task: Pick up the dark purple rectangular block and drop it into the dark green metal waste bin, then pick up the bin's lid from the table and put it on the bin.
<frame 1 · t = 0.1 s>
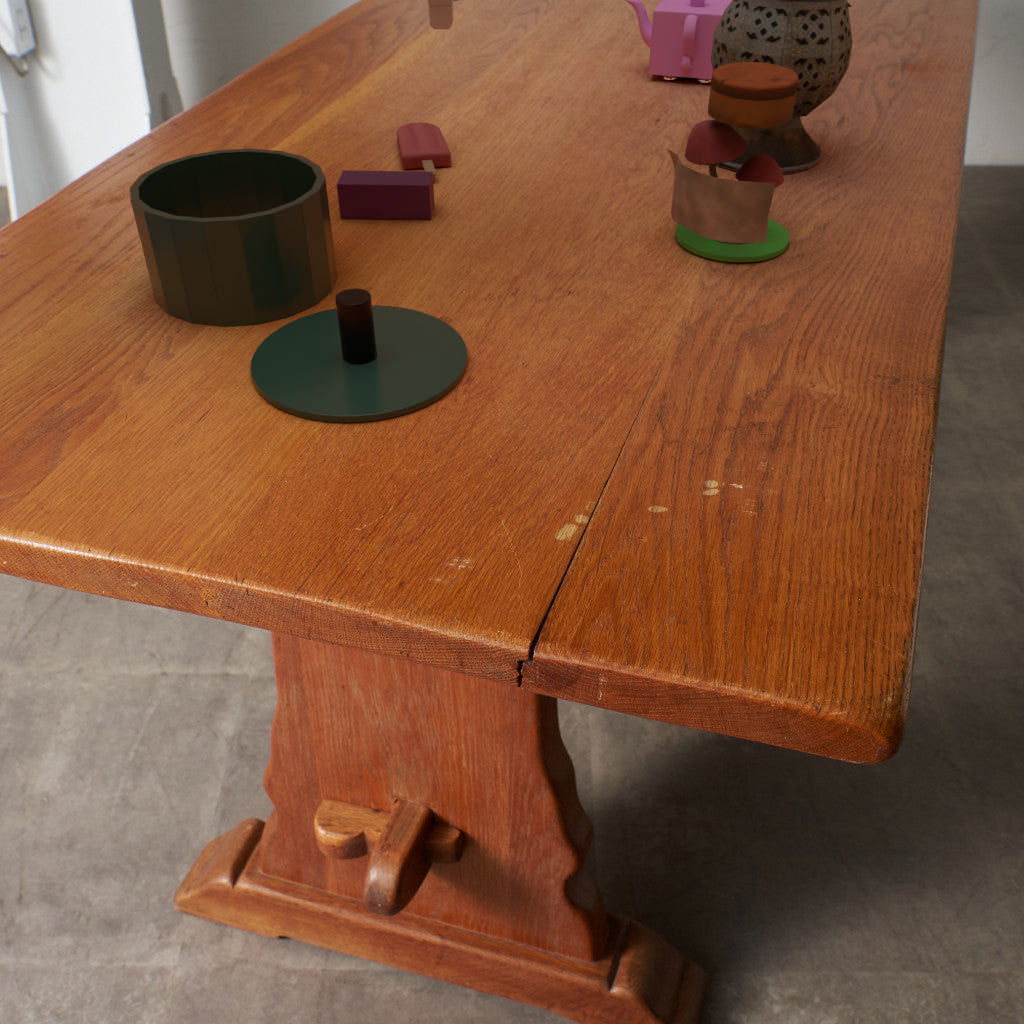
hand: (447, 12, 85), 19 cm above the table, tool pointing down, fingers open, 8 cm apart
bin: (247, 288, 88), on the table
popsicle: (424, 159, 112), on the table
lid: (360, 362, 77), point 1 cm above the table
dark purple rectangular block: (388, 212, 101), on the table
mushroom toy stack: (725, 240, 96), on the table
teapot: (684, 74, 137), on the table
lantern: (762, 154, 114), on the table
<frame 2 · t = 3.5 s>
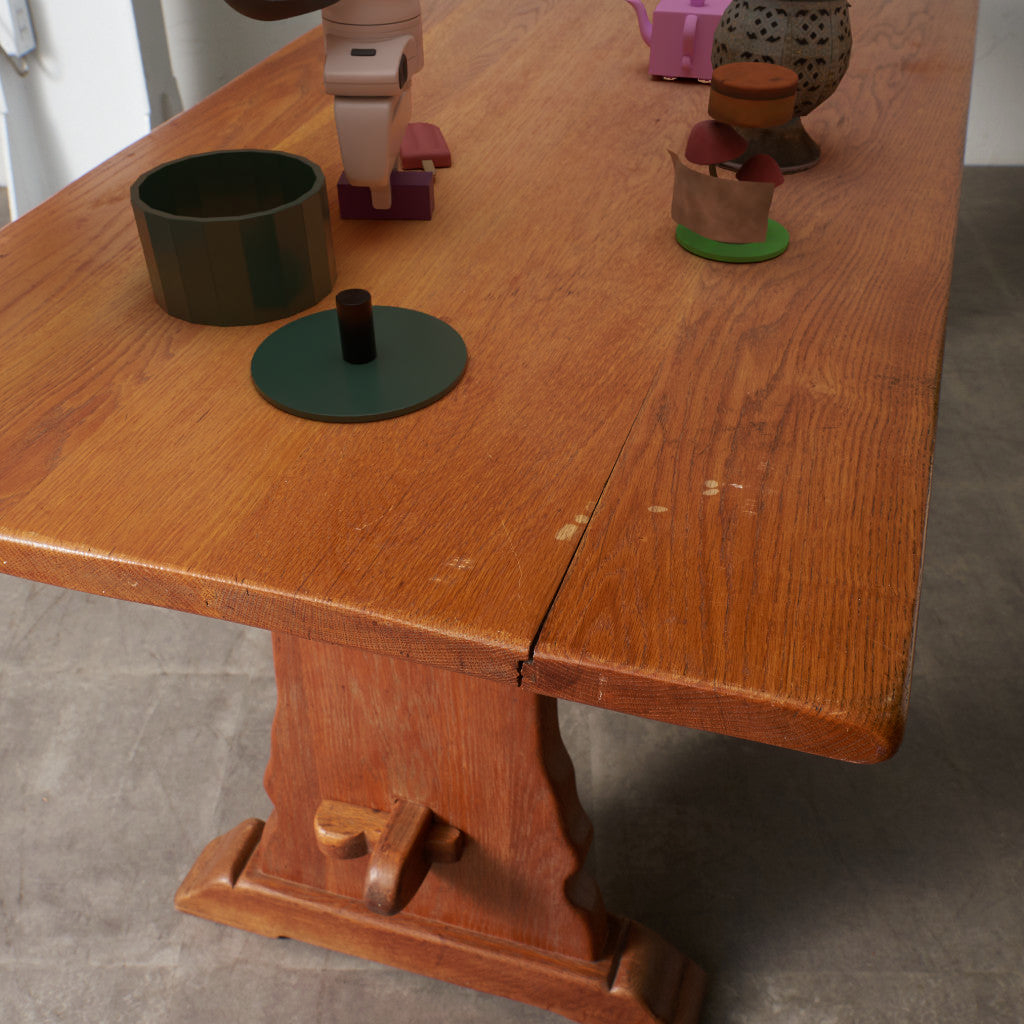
hand: (386, 196, 100), 2 cm above the table, tool pointing down, fingers closed on dark purple rectangular block, 3 cm apart
dark purple rectangular block: (388, 212, 101), on the table, touching gripper
everything else where it was.
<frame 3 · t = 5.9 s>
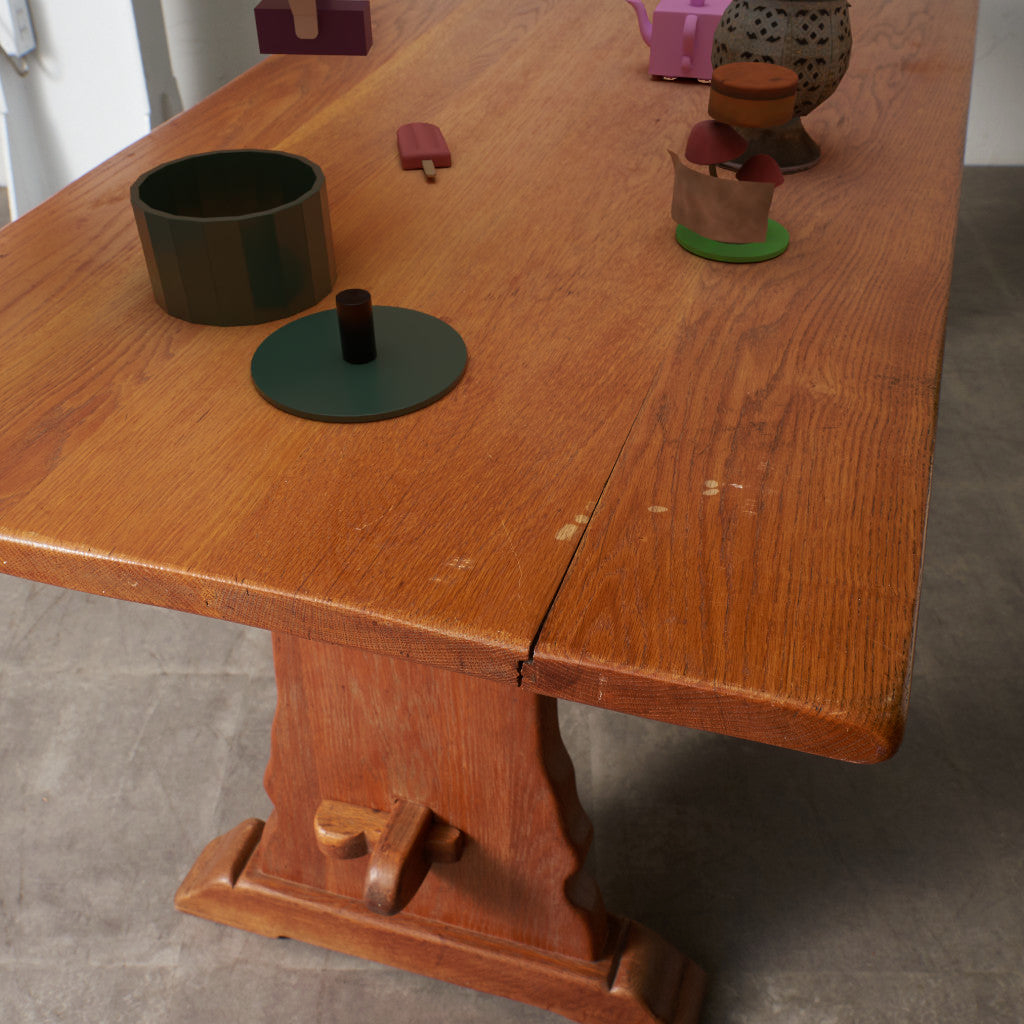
hand: (314, 29, 85), 18 cm above the table, tool pointing down, fingers closed on dark purple rectangular block, 3 cm apart
dark purple rectangular block: (317, 49, 86), point 17 cm above the table, touching gripper
everything else where it was.
when the fingers open (15 cm above the table, at t = 8.6 s): dark purple rectangular block drops 13 cm, resting on bin.
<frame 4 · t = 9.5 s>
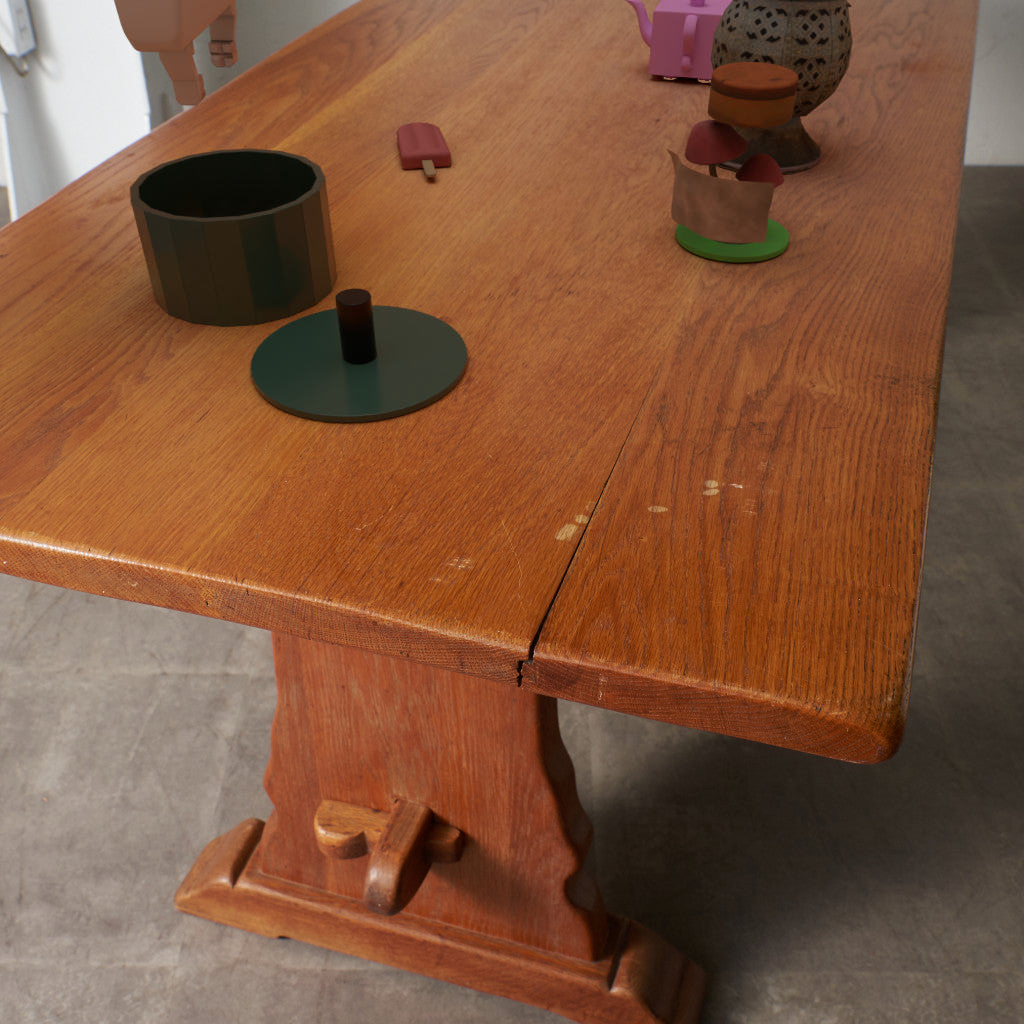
hand: (209, 83, 77), 17 cm above the table, tool pointing down, fingers open, 8 cm apart
dark purple rectangular block: (246, 285, 87), resting on bin
everything else where it was.
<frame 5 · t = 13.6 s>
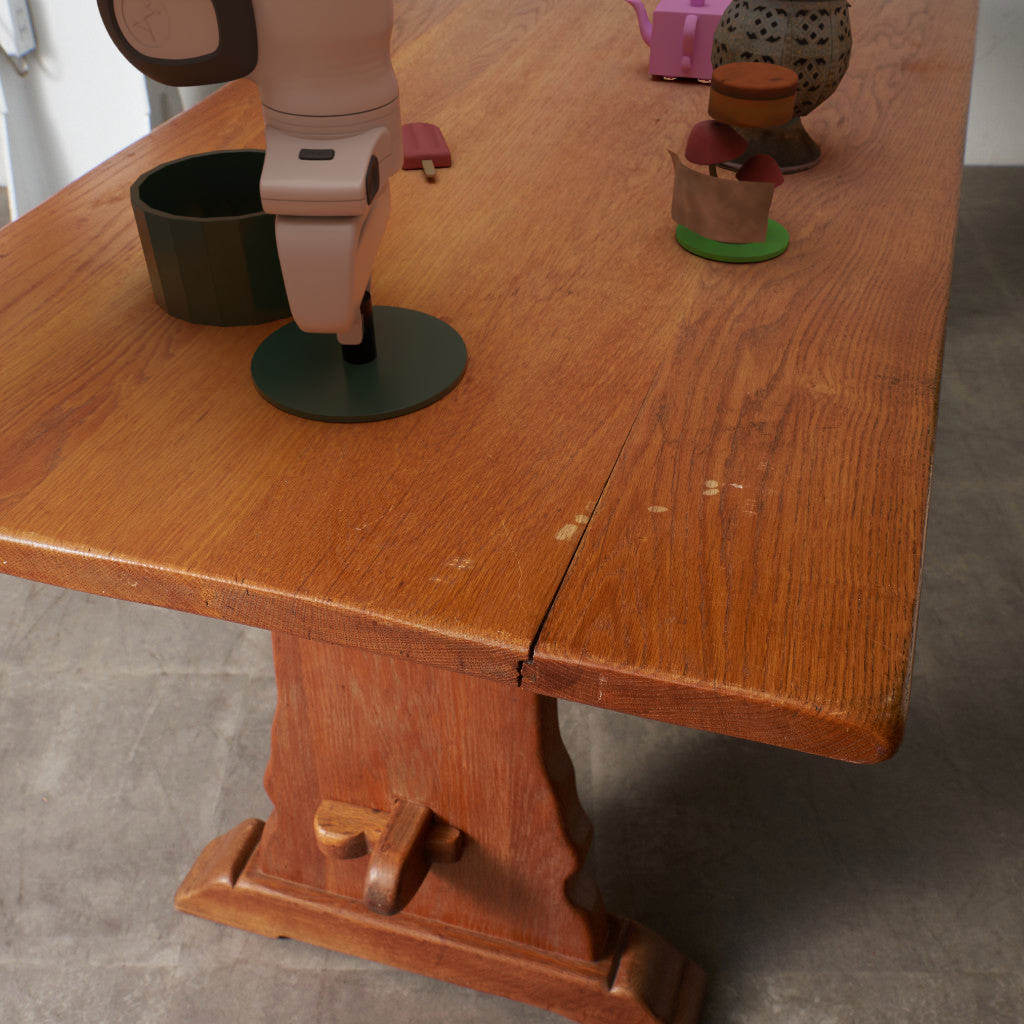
hand: (356, 326, 75), 4 cm above the table, tool pointing down, fingers closed on lid, 2 cm apart
lid: (360, 362, 77), point 1 cm above the table, touching gripper
everything else where it was.
when the fingers open (12 cm above the table, at t = 20.0 s): lid stays where it is, resting on bin.
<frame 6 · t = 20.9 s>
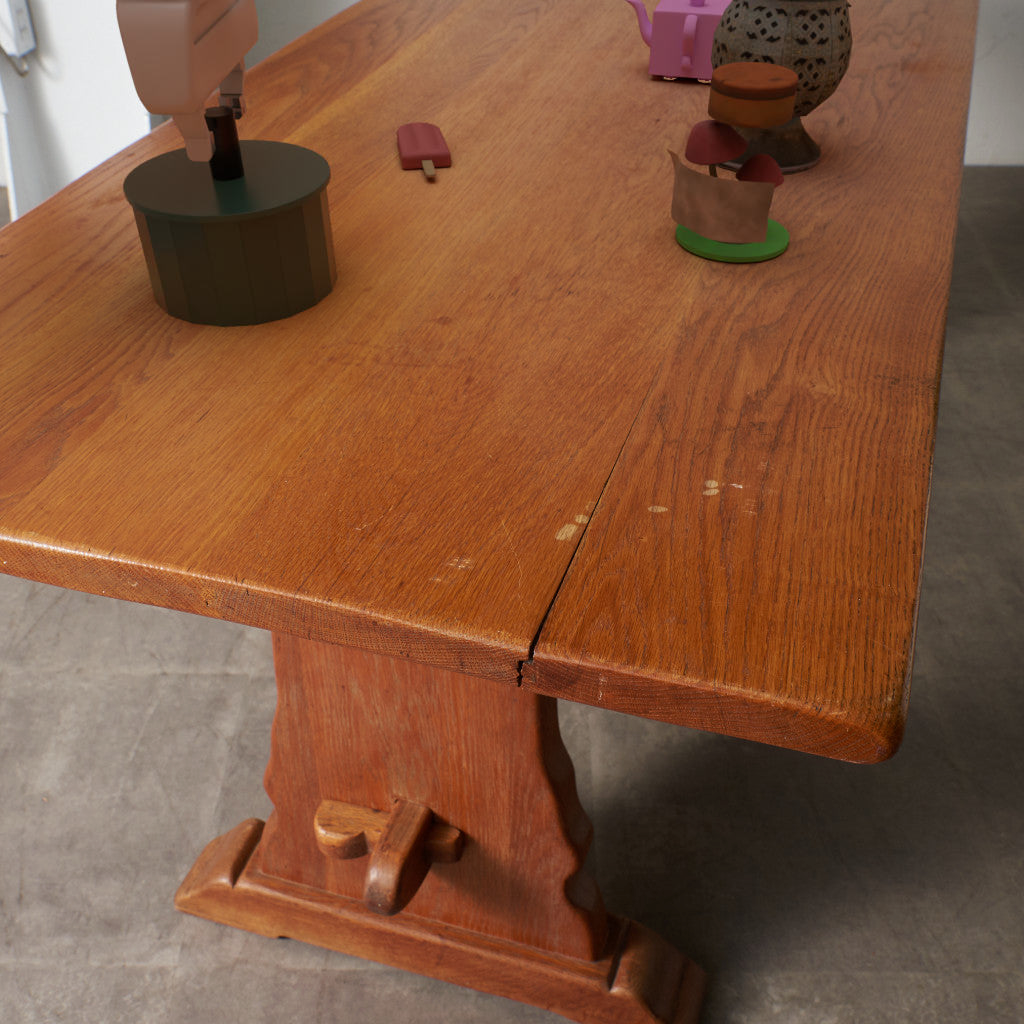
hand: (219, 136, 80), 13 cm above the table, tool pointing down, fingers open, 8 cm apart
lid: (229, 182, 82), point 9 cm above the table, touching bin
everything else where it was.
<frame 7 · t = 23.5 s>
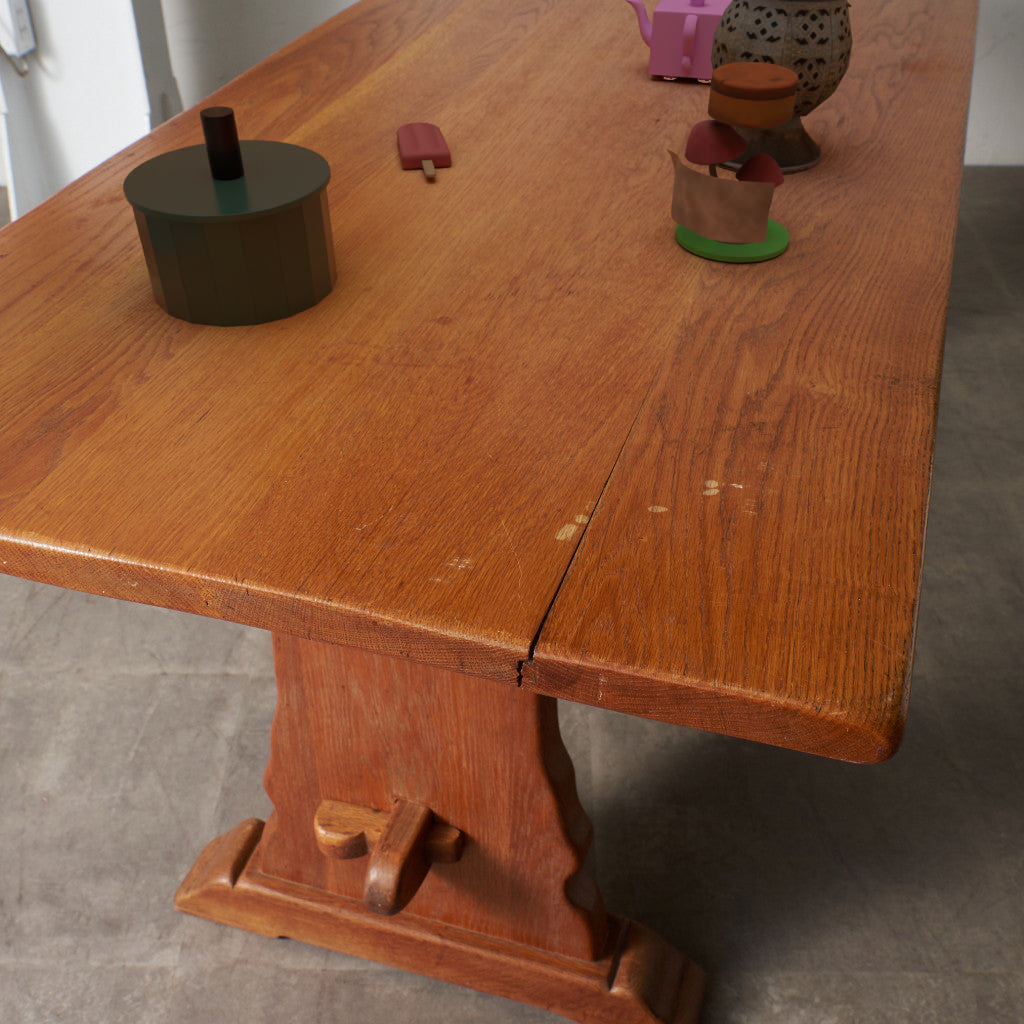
nothing on the table moved.
at the end: dark purple rectangular block inside the target area in the bin (0.4 cm from its centre), point 0.5 cm above the bin's base; lid 0.1 cm off-centre on the bin, point 9.5 cm above the bin's base; lid tilted 0° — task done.
